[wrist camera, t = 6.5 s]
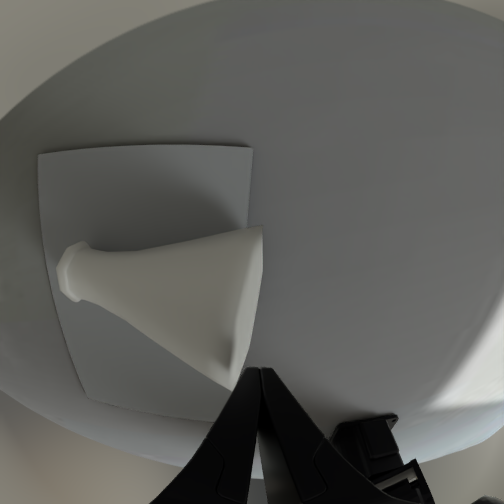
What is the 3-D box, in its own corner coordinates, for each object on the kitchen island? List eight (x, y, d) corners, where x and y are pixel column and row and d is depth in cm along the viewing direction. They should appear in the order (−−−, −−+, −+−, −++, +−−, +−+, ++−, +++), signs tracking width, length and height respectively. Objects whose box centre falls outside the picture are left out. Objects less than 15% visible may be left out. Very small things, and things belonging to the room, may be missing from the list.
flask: (273, 199, 13) (96, 182, 14) (235, 327, 7) (6, 259, 8) (261, 306, 17) (121, 276, 18) (234, 416, 11) (67, 357, 12)
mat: (232, 419, 20) (232, 423, 19) (89, 395, 19) (87, 398, 19) (253, 147, 13) (253, 147, 13) (41, 154, 13) (37, 154, 12)
